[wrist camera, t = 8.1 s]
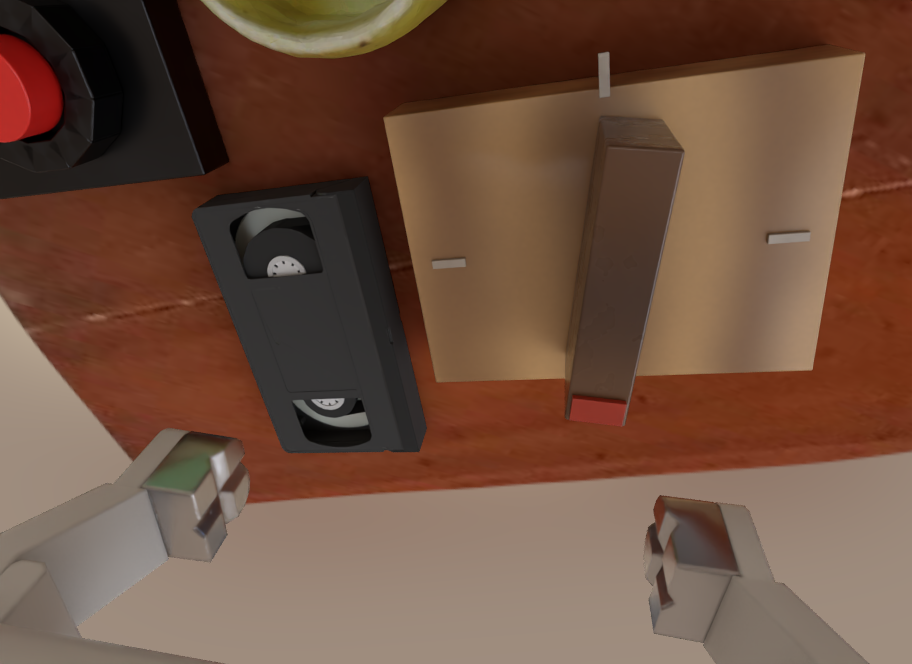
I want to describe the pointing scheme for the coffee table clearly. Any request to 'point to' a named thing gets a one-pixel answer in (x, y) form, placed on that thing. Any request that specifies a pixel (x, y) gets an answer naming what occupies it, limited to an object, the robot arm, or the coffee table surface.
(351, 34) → the mug
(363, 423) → the vhs tape
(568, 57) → the coffee table surface
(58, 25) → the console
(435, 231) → the base
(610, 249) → the brown block
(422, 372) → the coffee table surface
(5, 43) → the button
